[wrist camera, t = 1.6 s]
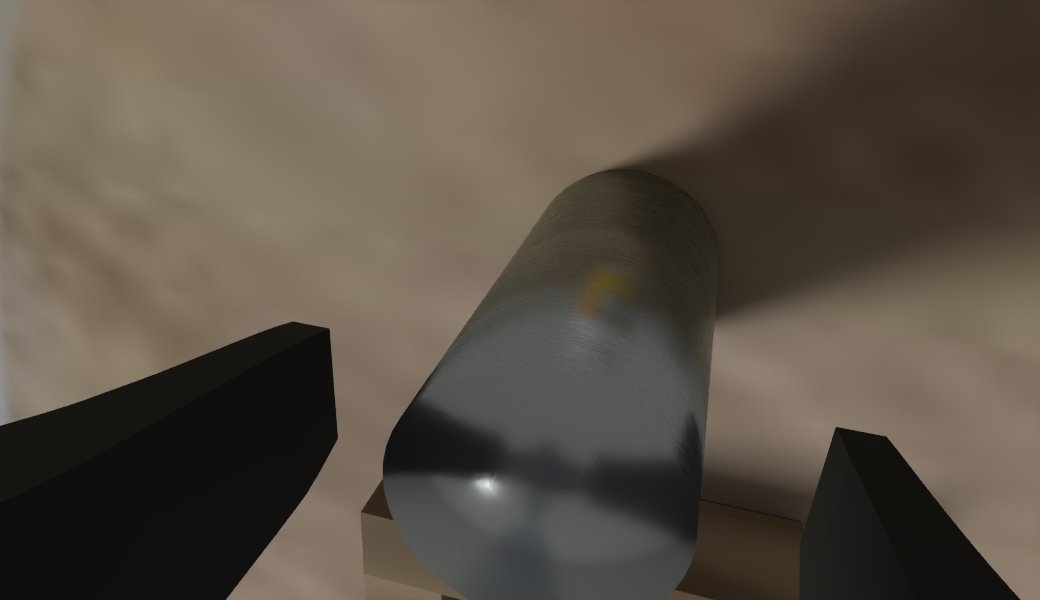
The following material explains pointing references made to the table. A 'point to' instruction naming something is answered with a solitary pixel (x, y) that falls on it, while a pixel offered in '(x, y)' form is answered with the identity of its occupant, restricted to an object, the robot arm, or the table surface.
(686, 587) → the socket block
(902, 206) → the table surface
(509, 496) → the grey cylinder
